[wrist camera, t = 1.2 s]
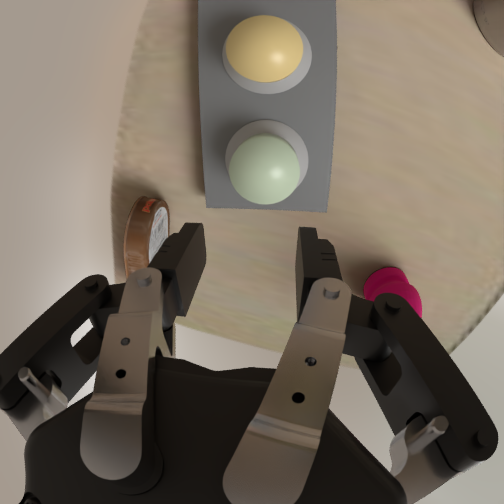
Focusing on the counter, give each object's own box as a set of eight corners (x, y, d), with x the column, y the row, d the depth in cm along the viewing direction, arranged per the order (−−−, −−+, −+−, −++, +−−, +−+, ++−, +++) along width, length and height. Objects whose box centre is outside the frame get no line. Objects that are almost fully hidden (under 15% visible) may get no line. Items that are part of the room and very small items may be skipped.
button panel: (326, -56, 13) (329, -67, 10) (323, 202, 29) (326, 213, 27) (206, -55, 14) (200, -65, 11) (211, 198, 30) (205, 208, 28)
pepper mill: (357, 307, 37) (382, 443, 20) (361, 265, 33) (403, 416, 16) (404, 302, 35) (445, 428, 19) (413, 260, 32) (475, 395, 15)
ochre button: (300, 23, 16) (302, 16, 14) (300, 84, 19) (303, 83, 17) (231, 23, 17) (225, 16, 15) (231, 83, 20) (226, 82, 18)
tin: (150, 184, 30) (114, 217, 23) (176, 188, 30) (144, 223, 23) (152, 284, 38) (129, 327, 31) (173, 289, 38) (152, 334, 31)
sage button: (299, 134, 22) (301, 139, 20) (296, 195, 25) (297, 206, 23) (232, 133, 22) (227, 137, 20) (234, 193, 25) (230, 203, 23)
